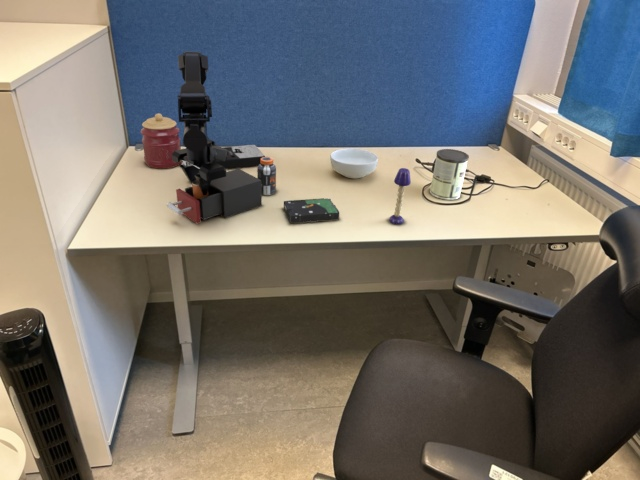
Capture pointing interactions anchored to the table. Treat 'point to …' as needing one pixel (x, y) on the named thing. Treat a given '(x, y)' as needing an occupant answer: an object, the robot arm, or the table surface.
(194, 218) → the pod drawer
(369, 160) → the cereal bowl
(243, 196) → the drawer cabinet
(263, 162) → the pill bottle
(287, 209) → the disk drive
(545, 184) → the table surface
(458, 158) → the coffee can
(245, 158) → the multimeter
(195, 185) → the brown short cylinder
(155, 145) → the kitchen canister
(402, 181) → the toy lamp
